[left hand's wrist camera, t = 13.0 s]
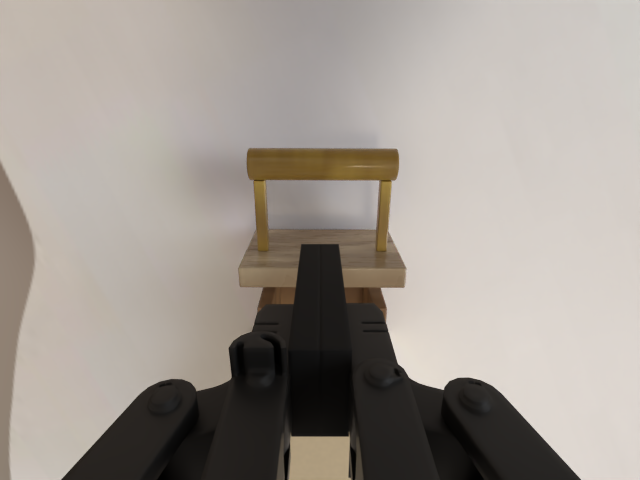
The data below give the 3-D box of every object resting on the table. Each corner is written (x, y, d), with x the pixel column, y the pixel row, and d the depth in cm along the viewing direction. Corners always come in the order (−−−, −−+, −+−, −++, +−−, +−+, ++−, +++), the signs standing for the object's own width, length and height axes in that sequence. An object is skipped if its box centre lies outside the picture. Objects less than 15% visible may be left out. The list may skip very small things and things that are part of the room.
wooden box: (257, 331, 29) (235, 412, 22) (385, 332, 29) (407, 412, 22) (268, 489, 36) (254, 591, 29) (372, 490, 36) (386, 592, 29)
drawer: (250, 140, 23) (228, 155, 18) (394, 140, 23) (418, 156, 18) (267, 418, 32) (256, 488, 26) (373, 418, 32) (385, 488, 26)
